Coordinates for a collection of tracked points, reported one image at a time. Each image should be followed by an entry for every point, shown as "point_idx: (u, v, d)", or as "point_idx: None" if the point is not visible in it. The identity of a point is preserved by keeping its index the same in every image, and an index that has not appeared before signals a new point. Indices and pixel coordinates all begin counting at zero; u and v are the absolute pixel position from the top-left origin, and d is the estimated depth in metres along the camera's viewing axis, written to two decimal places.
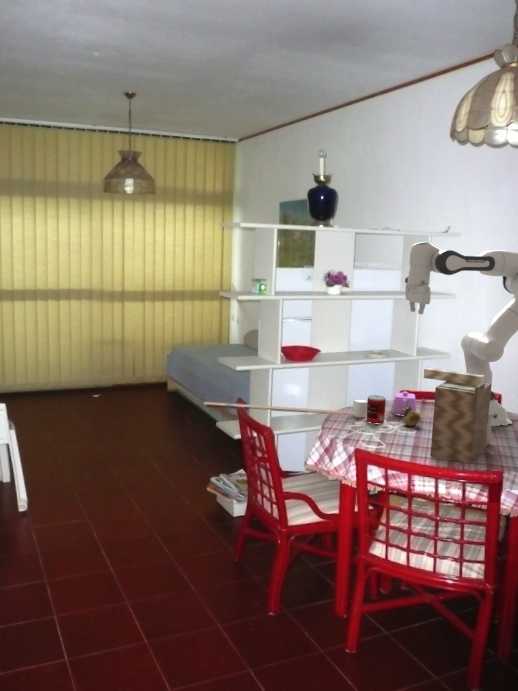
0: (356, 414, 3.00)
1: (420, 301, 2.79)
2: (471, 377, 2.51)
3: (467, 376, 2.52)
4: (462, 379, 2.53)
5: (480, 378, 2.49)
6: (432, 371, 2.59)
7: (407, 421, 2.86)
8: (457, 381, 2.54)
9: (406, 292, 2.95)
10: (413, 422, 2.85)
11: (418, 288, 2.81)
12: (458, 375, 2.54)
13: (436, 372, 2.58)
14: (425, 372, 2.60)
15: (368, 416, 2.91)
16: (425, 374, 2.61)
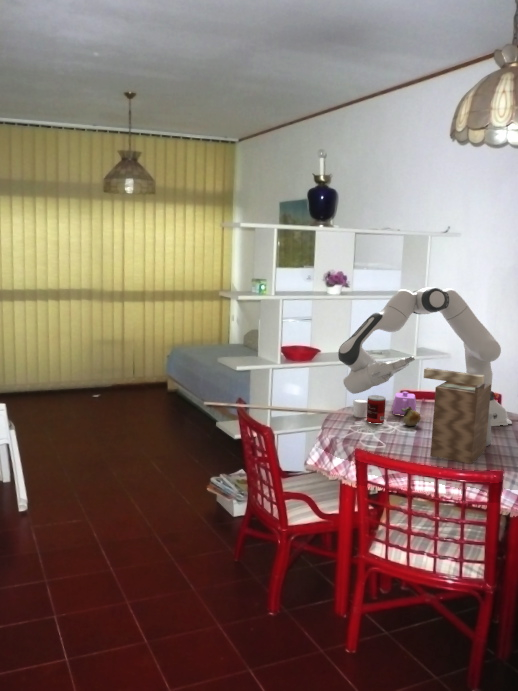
0: (356, 414, 3.00)
1: (391, 372, 2.61)
2: (471, 377, 2.51)
3: (467, 376, 2.52)
4: (462, 379, 2.53)
5: (480, 378, 2.49)
6: (432, 371, 2.59)
7: (407, 421, 2.86)
8: (457, 381, 2.54)
9: (402, 368, 2.76)
10: (413, 422, 2.85)
11: None
12: (458, 375, 2.54)
13: (436, 372, 2.58)
14: (425, 372, 2.60)
15: (368, 416, 2.91)
16: (425, 374, 2.61)
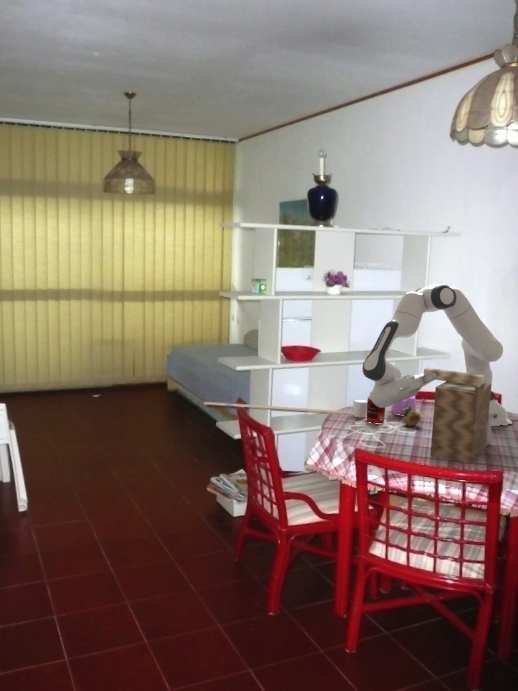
0: (356, 414, 3.00)
1: (420, 386, 2.55)
2: (471, 377, 2.51)
3: (467, 376, 2.52)
4: (462, 379, 2.53)
5: (480, 378, 2.49)
6: (432, 371, 2.59)
7: (407, 421, 2.86)
8: (457, 381, 2.54)
9: (430, 381, 2.70)
10: (413, 422, 2.85)
11: None
12: (458, 375, 2.54)
13: (436, 372, 2.58)
14: (425, 372, 2.60)
15: (368, 416, 2.91)
16: (425, 374, 2.60)
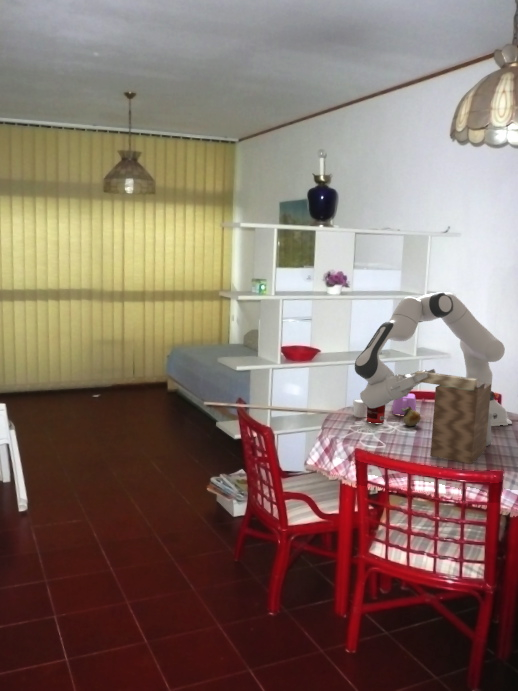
0: (356, 414, 3.00)
1: (412, 386, 2.47)
2: (463, 381, 2.43)
3: (459, 380, 2.44)
4: (454, 382, 2.45)
5: (472, 382, 2.41)
6: None
7: (407, 421, 2.86)
8: (449, 385, 2.46)
9: None
10: (413, 422, 2.85)
11: None
12: (450, 378, 2.45)
13: None
14: None
15: (368, 416, 2.91)
16: None
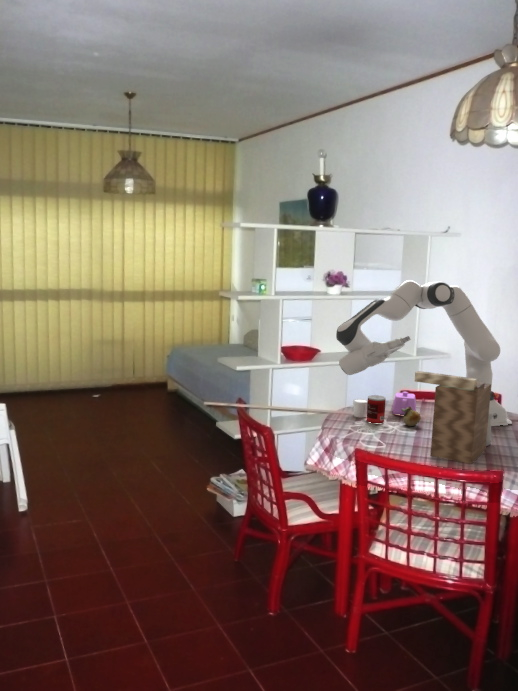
0: (356, 414, 3.00)
1: (386, 351, 2.58)
2: (463, 381, 2.43)
3: (459, 380, 2.44)
4: (454, 382, 2.45)
5: (472, 382, 2.41)
6: (423, 374, 2.51)
7: (407, 421, 2.86)
8: (449, 385, 2.46)
9: (398, 348, 2.73)
10: (413, 422, 2.85)
11: (379, 355, 2.64)
12: (450, 378, 2.45)
13: (427, 375, 2.50)
14: (416, 375, 2.52)
15: (368, 416, 2.91)
16: (416, 377, 2.52)
